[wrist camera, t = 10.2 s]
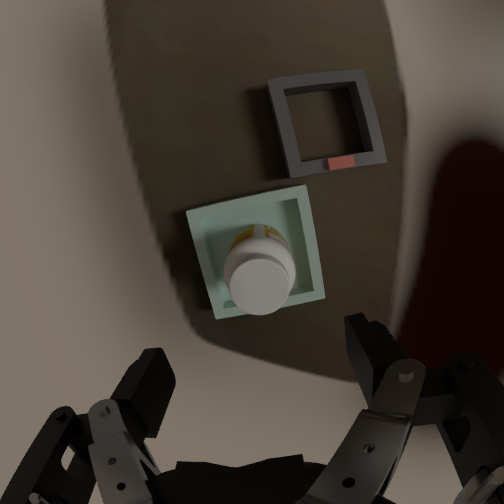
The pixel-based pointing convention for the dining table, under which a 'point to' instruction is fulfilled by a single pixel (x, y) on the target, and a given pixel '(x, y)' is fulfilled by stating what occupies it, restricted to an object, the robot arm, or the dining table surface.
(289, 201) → the tray
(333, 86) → the socket collar
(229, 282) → the supplement bottle
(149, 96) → the dining table surface
